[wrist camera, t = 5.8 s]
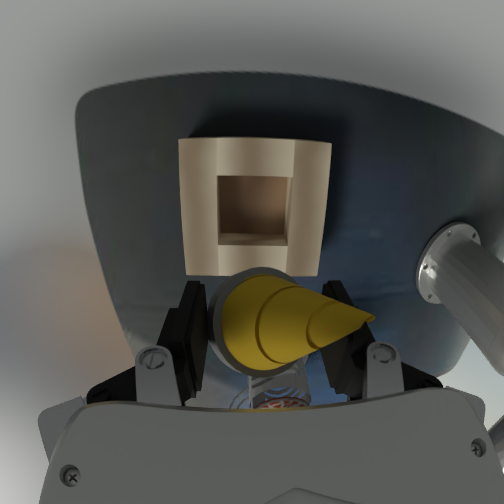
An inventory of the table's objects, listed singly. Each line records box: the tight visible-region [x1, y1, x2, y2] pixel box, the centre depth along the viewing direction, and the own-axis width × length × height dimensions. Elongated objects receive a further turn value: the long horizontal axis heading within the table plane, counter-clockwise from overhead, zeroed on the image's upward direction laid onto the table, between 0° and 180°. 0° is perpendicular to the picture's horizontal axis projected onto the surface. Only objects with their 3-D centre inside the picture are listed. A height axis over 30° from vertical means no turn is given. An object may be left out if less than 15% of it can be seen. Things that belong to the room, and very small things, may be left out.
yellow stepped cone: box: [207, 267, 375, 378], centre depth 12 cm, size 5×5×10 cm
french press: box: [229, 354, 311, 409], centre depth 26 cm, size 10×12×25 cm
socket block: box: [179, 137, 332, 276], centre depth 26 cm, size 13×13×4 cm
